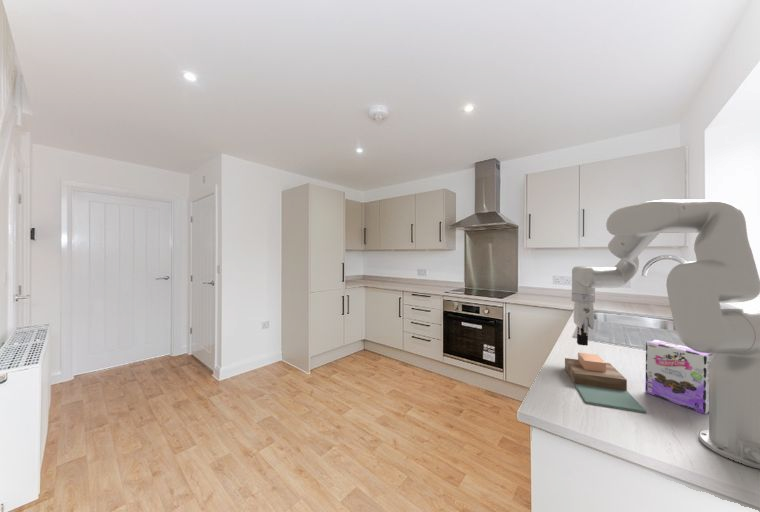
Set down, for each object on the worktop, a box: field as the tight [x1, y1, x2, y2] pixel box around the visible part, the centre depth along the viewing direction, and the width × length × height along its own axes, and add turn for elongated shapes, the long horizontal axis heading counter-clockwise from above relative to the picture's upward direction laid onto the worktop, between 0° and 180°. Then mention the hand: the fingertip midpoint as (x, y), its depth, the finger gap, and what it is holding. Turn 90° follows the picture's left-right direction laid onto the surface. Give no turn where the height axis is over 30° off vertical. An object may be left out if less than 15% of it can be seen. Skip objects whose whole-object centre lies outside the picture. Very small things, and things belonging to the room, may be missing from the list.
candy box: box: [645, 339, 713, 415], centre depth 86 cm, size 14×6×16 cm, turn 21°
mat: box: [574, 384, 647, 414], centre depth 88 cm, size 12×14×1 cm
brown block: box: [564, 357, 628, 391], centre depth 101 cm, size 15×14×4 cm
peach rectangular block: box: [577, 352, 607, 372], centre depth 103 cm, size 9×6×3 cm, turn 158°
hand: (582, 344), depth 113 cm, fingers closed
